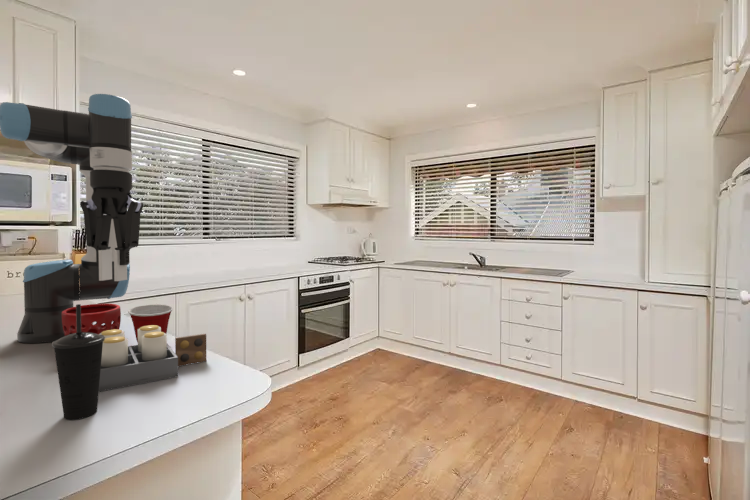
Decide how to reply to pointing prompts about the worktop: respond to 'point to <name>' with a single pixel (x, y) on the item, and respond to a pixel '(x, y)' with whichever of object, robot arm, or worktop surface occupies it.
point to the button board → (138, 370)
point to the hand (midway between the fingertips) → (113, 279)
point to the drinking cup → (79, 370)
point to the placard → (190, 349)
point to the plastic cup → (150, 316)
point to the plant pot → (92, 318)
